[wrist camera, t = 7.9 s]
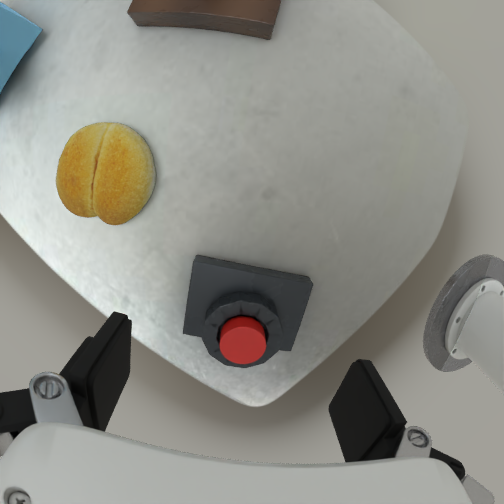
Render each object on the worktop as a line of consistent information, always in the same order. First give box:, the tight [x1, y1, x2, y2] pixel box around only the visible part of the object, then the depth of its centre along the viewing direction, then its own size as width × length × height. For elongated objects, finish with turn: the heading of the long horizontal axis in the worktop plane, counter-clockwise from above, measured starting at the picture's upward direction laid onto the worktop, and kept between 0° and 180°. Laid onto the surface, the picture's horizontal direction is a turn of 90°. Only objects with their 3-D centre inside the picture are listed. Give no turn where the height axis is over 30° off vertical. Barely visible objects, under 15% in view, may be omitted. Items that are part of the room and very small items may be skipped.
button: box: [220, 316, 266, 364], centre depth 22 cm, size 4×4×2 cm
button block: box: [183, 255, 313, 368], centre depth 24 cm, size 10×8×4 cm
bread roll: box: [56, 122, 155, 225], centre depth 20 cm, size 8×9×4 cm
